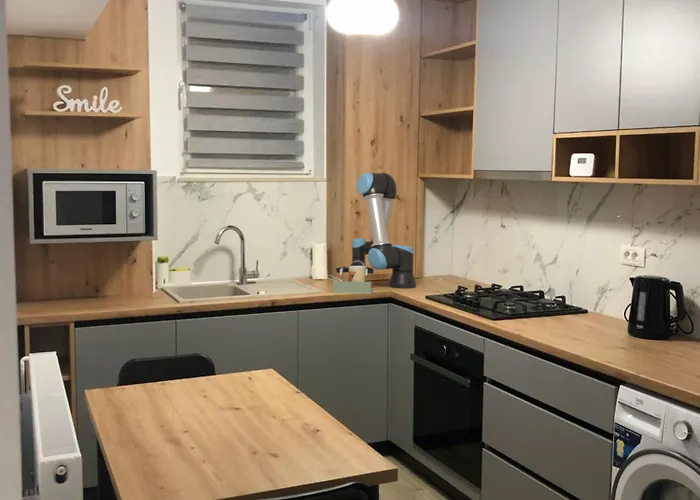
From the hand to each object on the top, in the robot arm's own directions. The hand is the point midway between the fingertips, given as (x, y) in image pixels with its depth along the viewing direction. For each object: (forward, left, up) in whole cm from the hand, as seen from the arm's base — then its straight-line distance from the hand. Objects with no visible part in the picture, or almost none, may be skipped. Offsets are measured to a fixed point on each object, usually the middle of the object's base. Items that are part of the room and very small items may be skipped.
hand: (353, 272), depth 401 cm
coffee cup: (-2, -1, -9) cm, 9 cm away
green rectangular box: (0, +1, -10) cm, 10 cm away
